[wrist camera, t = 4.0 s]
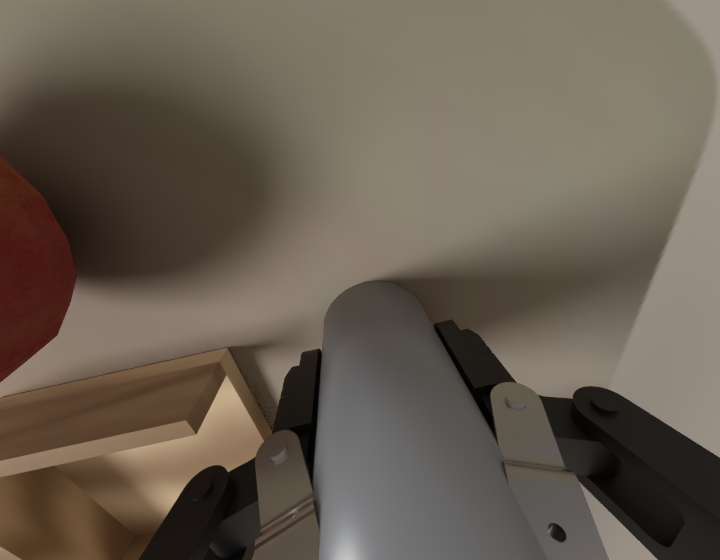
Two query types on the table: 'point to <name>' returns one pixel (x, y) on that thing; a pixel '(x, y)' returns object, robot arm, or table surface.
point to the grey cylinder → (405, 443)
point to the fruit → (30, 271)
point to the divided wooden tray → (117, 454)
